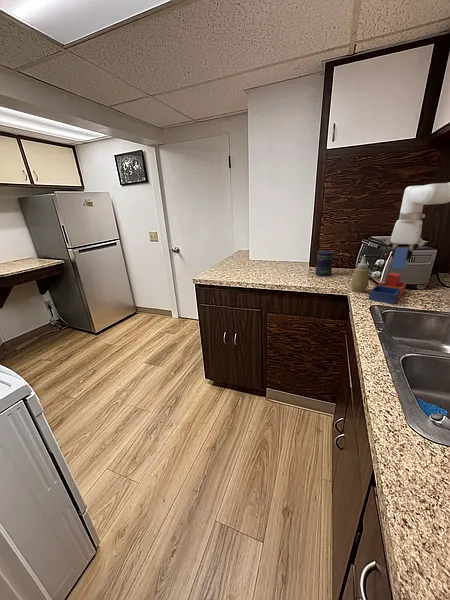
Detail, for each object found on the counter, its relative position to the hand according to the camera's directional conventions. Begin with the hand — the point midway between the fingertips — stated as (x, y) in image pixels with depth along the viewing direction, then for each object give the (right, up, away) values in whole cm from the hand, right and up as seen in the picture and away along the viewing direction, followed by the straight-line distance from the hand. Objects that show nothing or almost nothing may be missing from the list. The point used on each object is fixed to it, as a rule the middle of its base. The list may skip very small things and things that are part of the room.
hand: (400, 258), depth 113 cm
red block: (+5, -14, +15) cm, 21 cm away
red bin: (+5, -15, +15) cm, 22 cm away
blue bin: (-4, -18, +7) cm, 20 cm away
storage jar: (-16, -2, +50) cm, 52 cm away
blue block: (0, -4, +2) cm, 4 cm away
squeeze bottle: (-9, -14, +19) cm, 25 cm away
